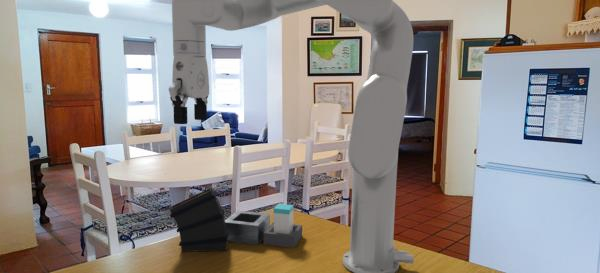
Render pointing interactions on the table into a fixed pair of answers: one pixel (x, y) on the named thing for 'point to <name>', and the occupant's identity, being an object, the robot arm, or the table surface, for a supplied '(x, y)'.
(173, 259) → the table surface
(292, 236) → the grey square frame
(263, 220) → the port block
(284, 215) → the plug
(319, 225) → the table surface
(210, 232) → the magazine
